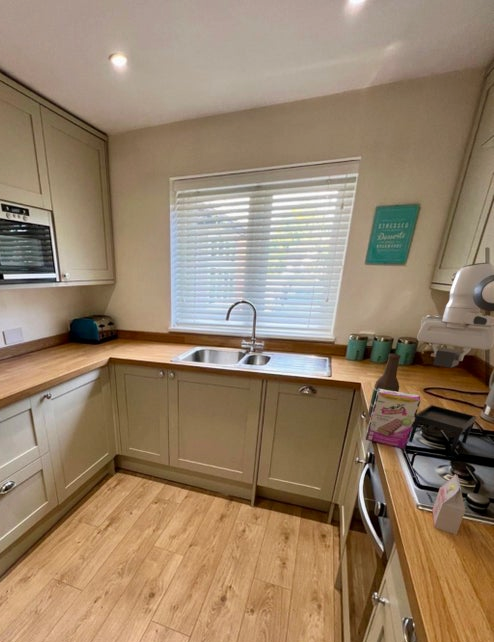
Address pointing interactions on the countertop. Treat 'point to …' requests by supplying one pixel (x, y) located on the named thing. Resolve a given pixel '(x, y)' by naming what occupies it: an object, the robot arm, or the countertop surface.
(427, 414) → the black tray stand
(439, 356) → the black box
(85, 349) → the countertop surface
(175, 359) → the countertop surface
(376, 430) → the candy bar box
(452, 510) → the small gable carton
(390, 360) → the beer bottle
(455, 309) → the robot arm
